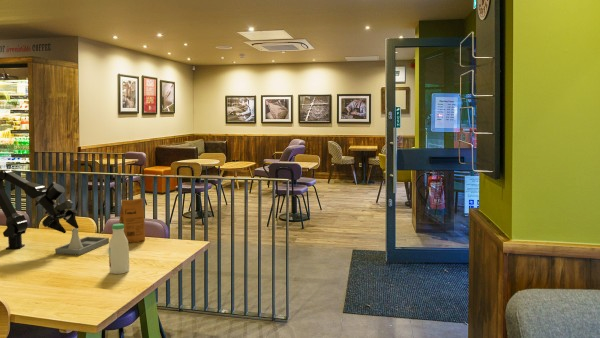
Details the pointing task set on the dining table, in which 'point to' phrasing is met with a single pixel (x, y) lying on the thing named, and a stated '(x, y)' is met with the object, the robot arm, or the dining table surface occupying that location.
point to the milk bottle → (118, 250)
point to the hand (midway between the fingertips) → (71, 230)
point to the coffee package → (133, 220)
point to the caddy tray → (87, 243)
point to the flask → (75, 240)
